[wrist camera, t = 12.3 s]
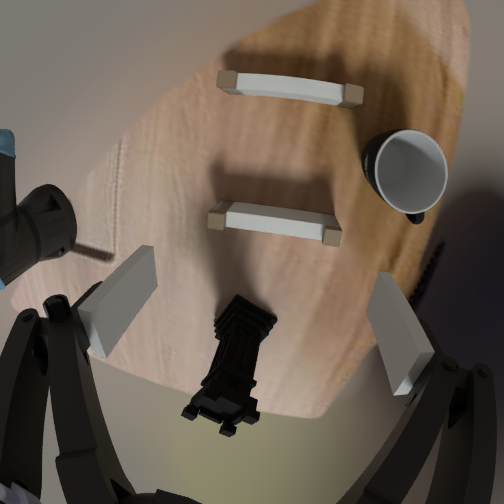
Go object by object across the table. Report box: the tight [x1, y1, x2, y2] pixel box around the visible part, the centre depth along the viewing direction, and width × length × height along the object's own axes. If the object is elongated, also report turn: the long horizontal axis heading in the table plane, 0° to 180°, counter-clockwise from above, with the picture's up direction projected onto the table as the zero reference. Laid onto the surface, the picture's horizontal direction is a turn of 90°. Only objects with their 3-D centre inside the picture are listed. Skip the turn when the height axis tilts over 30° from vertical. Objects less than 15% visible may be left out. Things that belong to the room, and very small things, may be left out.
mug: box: [362, 129, 448, 224], centre depth 28 cm, size 12×9×10 cm
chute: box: [207, 70, 364, 247], centre depth 31 cm, size 16×19×6 cm
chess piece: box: [181, 294, 277, 437], centre depth 37 cm, size 8×8×20 cm
